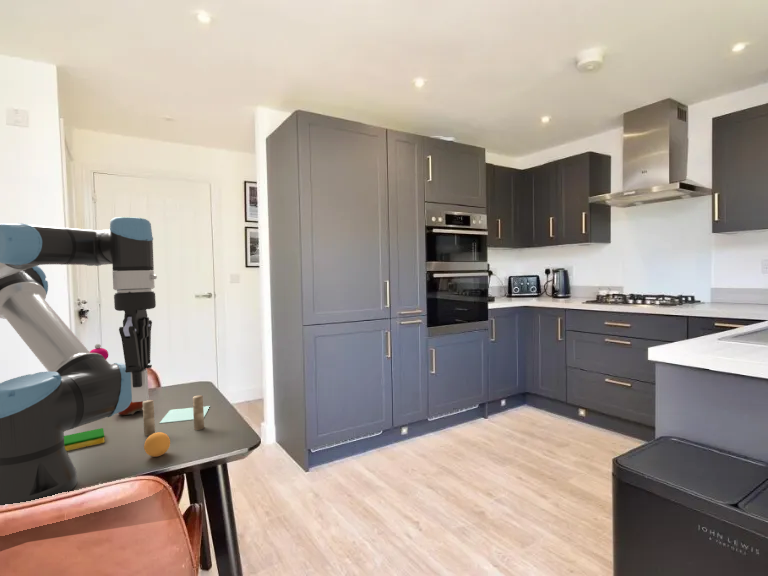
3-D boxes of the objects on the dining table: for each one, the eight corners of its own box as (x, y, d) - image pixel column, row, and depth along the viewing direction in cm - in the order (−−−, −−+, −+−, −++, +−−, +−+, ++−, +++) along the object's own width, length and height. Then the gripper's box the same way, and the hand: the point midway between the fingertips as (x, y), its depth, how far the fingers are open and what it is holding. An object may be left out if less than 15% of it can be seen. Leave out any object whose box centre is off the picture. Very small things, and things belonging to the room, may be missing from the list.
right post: (193, 430, 114) (191, 398, 114) (195, 427, 116) (193, 395, 116) (203, 429, 115) (201, 397, 114) (205, 426, 117) (203, 395, 117)
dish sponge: (38, 450, 105) (37, 440, 105) (103, 436, 113) (103, 427, 113) (35, 460, 99) (35, 450, 99) (104, 444, 108) (104, 435, 107)
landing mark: (159, 423, 120) (159, 422, 120) (170, 410, 132) (170, 409, 132) (203, 418, 123) (203, 418, 123) (210, 406, 135) (210, 405, 135)
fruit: (136, 413, 126) (123, 390, 126) (118, 425, 127) (105, 403, 128) (155, 404, 134) (143, 383, 134) (138, 416, 135) (126, 395, 136)
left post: (142, 436, 111) (141, 403, 111) (146, 432, 113) (144, 400, 113) (153, 435, 112) (151, 402, 111) (156, 431, 114) (154, 399, 114)
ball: (141, 462, 95) (140, 438, 95) (148, 452, 100) (147, 430, 100) (167, 458, 96) (166, 435, 96) (173, 449, 102) (172, 427, 102)
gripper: (144, 291, 82) (150, 408, 83) (162, 289, 95) (167, 390, 96) (101, 293, 80) (108, 412, 81) (126, 290, 93) (132, 393, 94)
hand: (140, 400), depth 88 cm, fingers closed
